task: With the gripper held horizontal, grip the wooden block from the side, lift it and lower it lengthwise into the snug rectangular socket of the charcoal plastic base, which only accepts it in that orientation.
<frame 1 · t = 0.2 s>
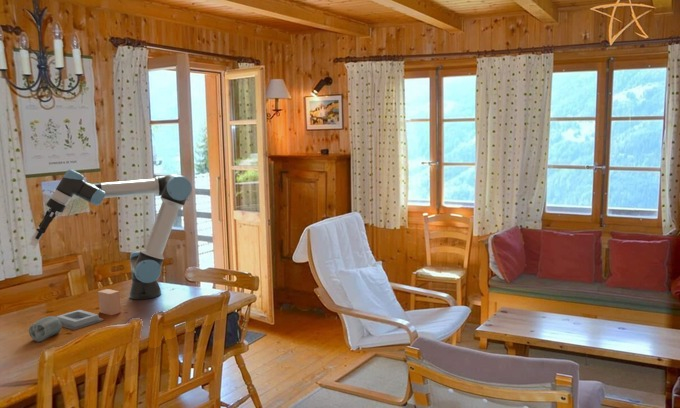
hand: (32, 243, 263), 35 cm above the table, fingers open, 13 cm apart
grey faceted cylinder: (46, 338, 242), on the table
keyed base: (78, 322, 260), on the table
key block: (110, 312, 273), on the table
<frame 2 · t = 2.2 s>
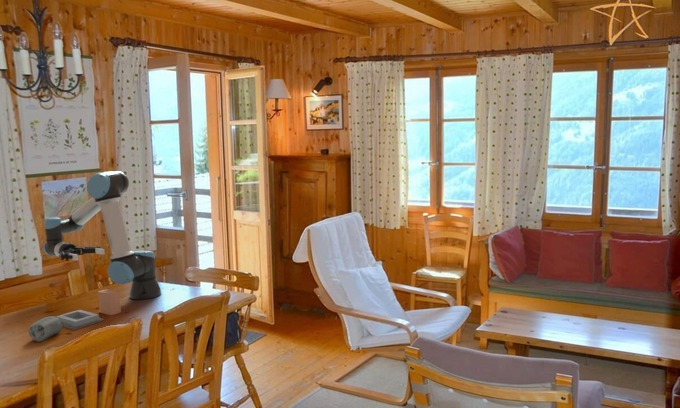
hand: (91, 254, 277), 26 cm above the table, fingers open, 13 cm apart
nothing on the table moved.
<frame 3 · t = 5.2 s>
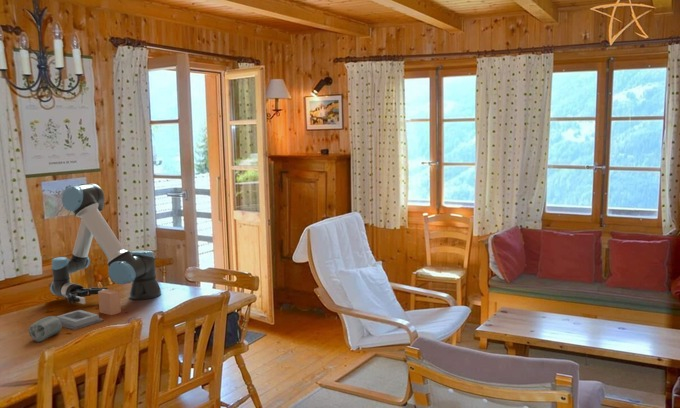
hand: (98, 297, 277), 6 cm above the table, fingers open, 13 cm apart
nothing on the table moved.
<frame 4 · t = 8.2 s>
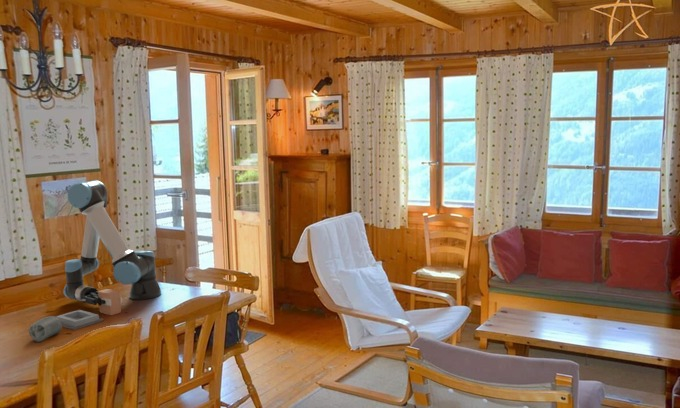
hand: (116, 301, 269), 6 cm above the table, fingers closed on key block, 5 cm apart
key block: (110, 312, 273), on the table, touching gripper
everything else where it was.
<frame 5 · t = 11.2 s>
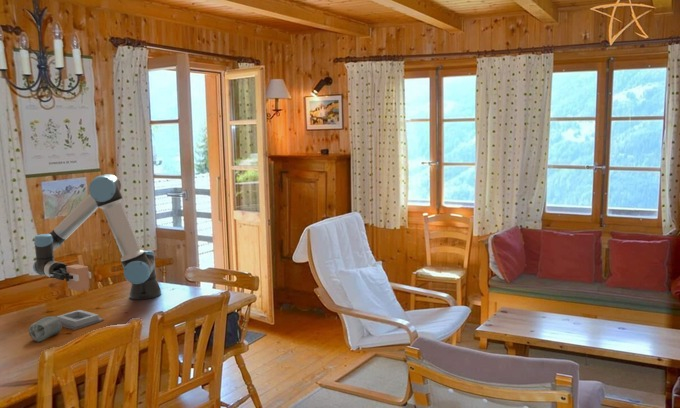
hand: (84, 276, 257), 20 cm above the table, fingers closed on key block, 5 cm apart
key block: (78, 288, 261), point 14 cm above the table, touching gripper
everything else where it was.
when the fingers open (8 cm above the table, at t = 14.6 s): key block drops 1 cm, resting on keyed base.
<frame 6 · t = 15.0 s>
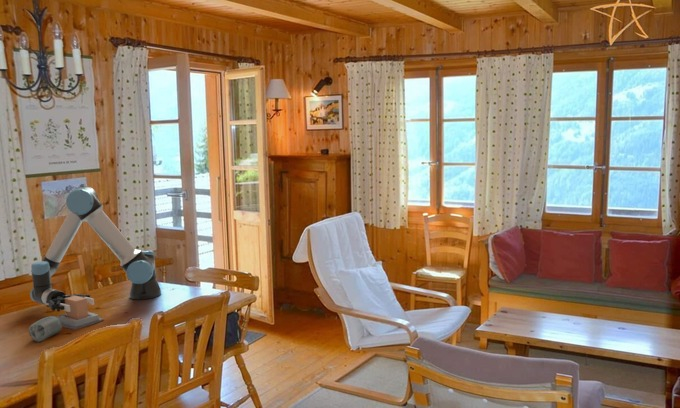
hand: (81, 305, 257), 8 cm above the table, fingers open, 10 cm apart
key block: (77, 320, 260), point 1 cm above the table, touching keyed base
everything else where it was.
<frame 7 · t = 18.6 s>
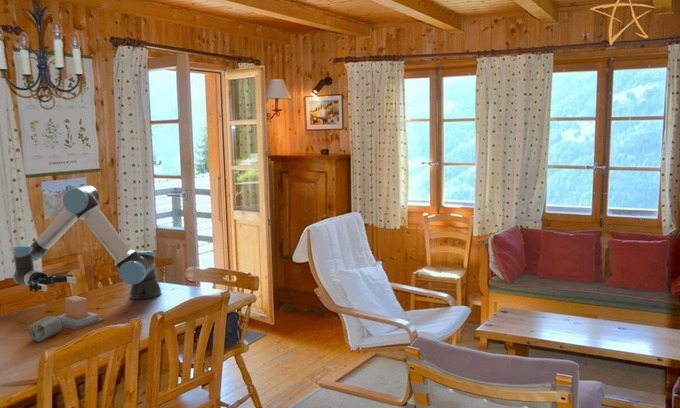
hand: (61, 284, 264), 16 cm above the table, fingers open, 13 cm apart
nothing on the table moved.
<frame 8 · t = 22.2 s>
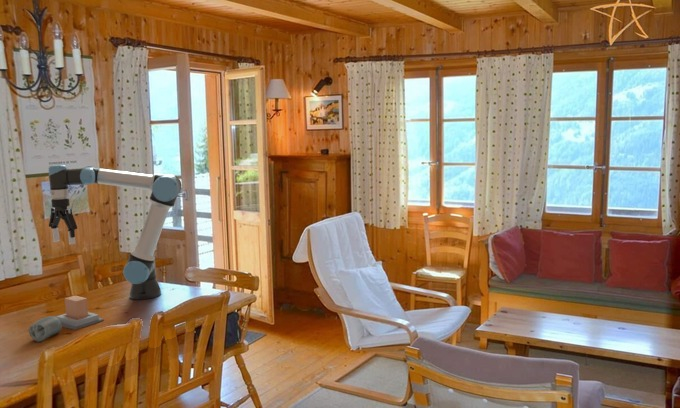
hand: (64, 243, 278), 32 cm above the table, fingers open, 13 cm apart
nothing on the table moved.
at the end: key block 0.1 cm off-centre on the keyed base, point 0.8 cm above the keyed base's base; key block tilted 0°; the gripper is holding nothing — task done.
